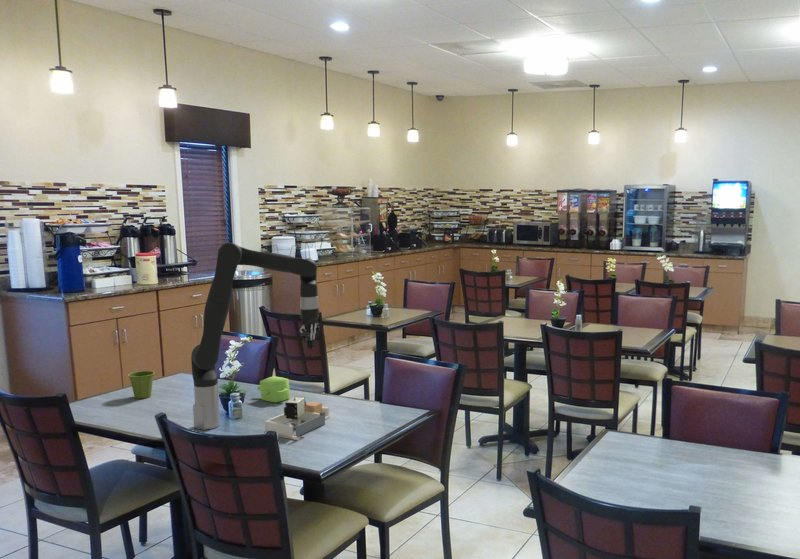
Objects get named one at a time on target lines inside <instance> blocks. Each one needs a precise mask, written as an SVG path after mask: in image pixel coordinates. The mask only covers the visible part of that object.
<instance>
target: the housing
mask: <svg viewBox="0 0 800 559" xmlns="http://www.w3.org/2000/svg"><path fill="white" fill-rule="evenodd" d="M322 412H325V421H326V420H328V419H330V418H331V417H330V408H329V407H327V406H322ZM317 416H320V413H314V412H309V411H305V413H304V414H302V415H301V416H300V417H301V422H302V421H304V422H306V421H308V420H310V419H313V418H315V417H317ZM300 417H299V418H300ZM290 420H291V419H288V418H286V416H284V413H282V414H279V415H276V416H274V417H271V418H268V419H265V421H264V433H266V432H267V431H269V430H274V431H276V432H277V433H278V436H277V437H280V438H284V439H289V440H293V441H294V440H295V441H300V440H302V439H304V438H305V436H302V435H300V436H298V437H297V436H296V434H294V430H296V428H293V426H292V425H291V424H287V423H291V421H290Z"/></svg>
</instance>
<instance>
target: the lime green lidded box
mask: <svg viewBox="0 0 800 559" xmlns="http://www.w3.org/2000/svg"><path fill="white" fill-rule="evenodd" d="M257 390H258V391H260V398H261V400H262V401H267V402H270V403H271V402H272V403H280V402H283V401H287V400H288V399H289V400H290V399H291V393H290V392H291V391H290V381H289V378H285V377H281V376H274V375H273V376H269V377H267V378H263V379H261V380H260V381H259V385H257Z"/></svg>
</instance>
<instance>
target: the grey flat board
mask: <svg viewBox="0 0 800 559" xmlns="http://www.w3.org/2000/svg"><path fill="white" fill-rule="evenodd" d="M325 424H326V420H325V412H320V416H317V417H315V418H313V419H310V420H308V421H304V422H301V424H299V425H297V426H296V429H295V435H296V436H297V437H298V436H303V435H304V434H306V433H308V432H310V431H313V430H315V429H318V428H319V427H322V426H324V425H325Z"/></svg>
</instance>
